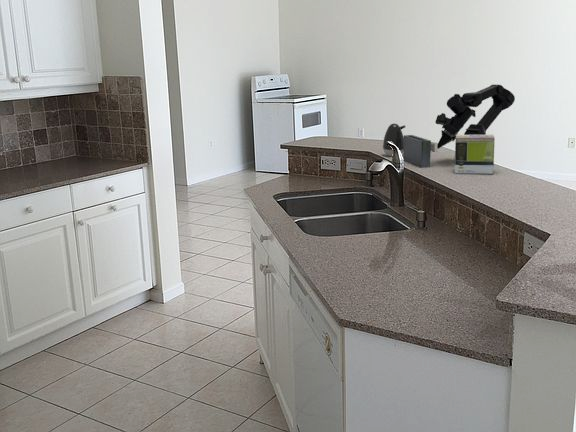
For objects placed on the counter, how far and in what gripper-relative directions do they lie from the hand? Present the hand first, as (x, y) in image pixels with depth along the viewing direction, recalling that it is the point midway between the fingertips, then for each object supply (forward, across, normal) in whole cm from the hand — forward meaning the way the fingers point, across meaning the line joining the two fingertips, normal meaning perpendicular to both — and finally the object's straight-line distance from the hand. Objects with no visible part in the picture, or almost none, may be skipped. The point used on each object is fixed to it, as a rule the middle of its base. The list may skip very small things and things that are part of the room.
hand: (437, 148), depth 277 cm
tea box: (0, +15, +19) cm, 24 cm away
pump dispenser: (+13, -21, -15) cm, 29 cm away
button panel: (+11, -2, -3) cm, 11 cm away
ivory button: (+3, +5, -1) cm, 6 cm away
